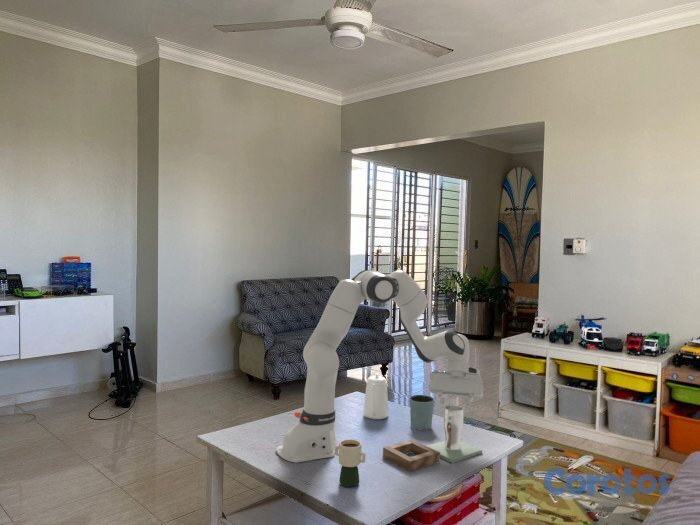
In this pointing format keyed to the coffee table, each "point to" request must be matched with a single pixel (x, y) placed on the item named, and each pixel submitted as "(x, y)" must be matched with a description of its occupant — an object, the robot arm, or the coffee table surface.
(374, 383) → the coffeepot
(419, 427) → the green plant pot
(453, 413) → the silver metal tumbler
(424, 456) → the walnut holder
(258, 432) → the coffee table surface
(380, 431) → the coffee table surface
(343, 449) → the character mug
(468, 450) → the sage board
